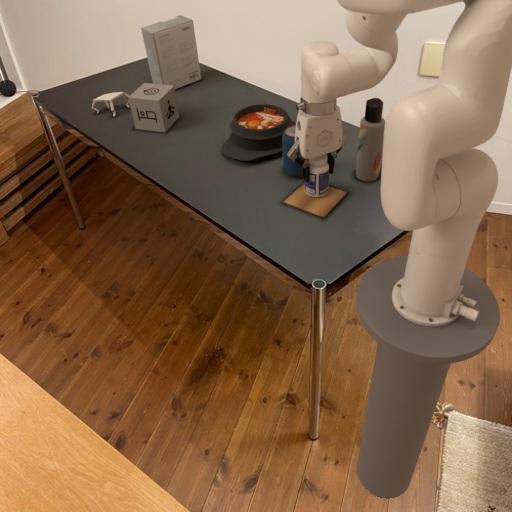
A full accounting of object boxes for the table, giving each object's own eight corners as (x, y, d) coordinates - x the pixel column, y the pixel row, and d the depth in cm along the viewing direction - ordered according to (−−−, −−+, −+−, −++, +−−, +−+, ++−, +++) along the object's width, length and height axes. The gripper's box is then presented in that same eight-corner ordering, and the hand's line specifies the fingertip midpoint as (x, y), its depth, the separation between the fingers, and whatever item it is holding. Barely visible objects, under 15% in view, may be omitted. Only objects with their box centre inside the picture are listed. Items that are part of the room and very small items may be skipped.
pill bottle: (326, 184, 126) (328, 148, 119) (329, 197, 121) (331, 161, 115) (303, 185, 126) (303, 150, 119) (305, 199, 121) (306, 163, 115)
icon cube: (135, 128, 153) (128, 97, 146) (151, 113, 160) (144, 82, 153) (165, 132, 150) (158, 100, 144) (179, 116, 157) (174, 85, 150)
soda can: (314, 175, 129) (315, 133, 121) (289, 182, 128) (289, 140, 119) (302, 162, 134) (302, 120, 126) (278, 169, 132) (277, 127, 124)
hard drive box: (189, 73, 181) (181, 14, 168) (202, 79, 177) (194, 19, 163) (152, 87, 174) (140, 27, 161) (164, 94, 170) (152, 32, 156)
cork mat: (347, 193, 123) (347, 192, 122) (323, 217, 116) (323, 216, 116) (308, 180, 128) (308, 179, 128) (283, 202, 122) (283, 201, 121)
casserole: (267, 117, 154) (266, 90, 148) (316, 136, 144) (316, 108, 138) (206, 151, 141) (203, 124, 135) (255, 175, 131) (253, 146, 125)
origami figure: (105, 121, 158) (101, 106, 155) (92, 112, 163) (88, 98, 159) (138, 107, 163) (135, 93, 160) (125, 100, 168) (121, 85, 165)
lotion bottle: (382, 172, 128) (391, 98, 115) (373, 184, 125) (382, 108, 111) (361, 167, 131) (368, 93, 117) (352, 178, 127) (358, 103, 114)
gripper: (291, 121, 103) (292, 193, 115) (362, 100, 108) (356, 172, 120) (274, 106, 108) (277, 177, 121) (344, 87, 113) (339, 157, 125)
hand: (316, 174), depth 120 cm, fingers closed on pill bottle, 5 cm apart
